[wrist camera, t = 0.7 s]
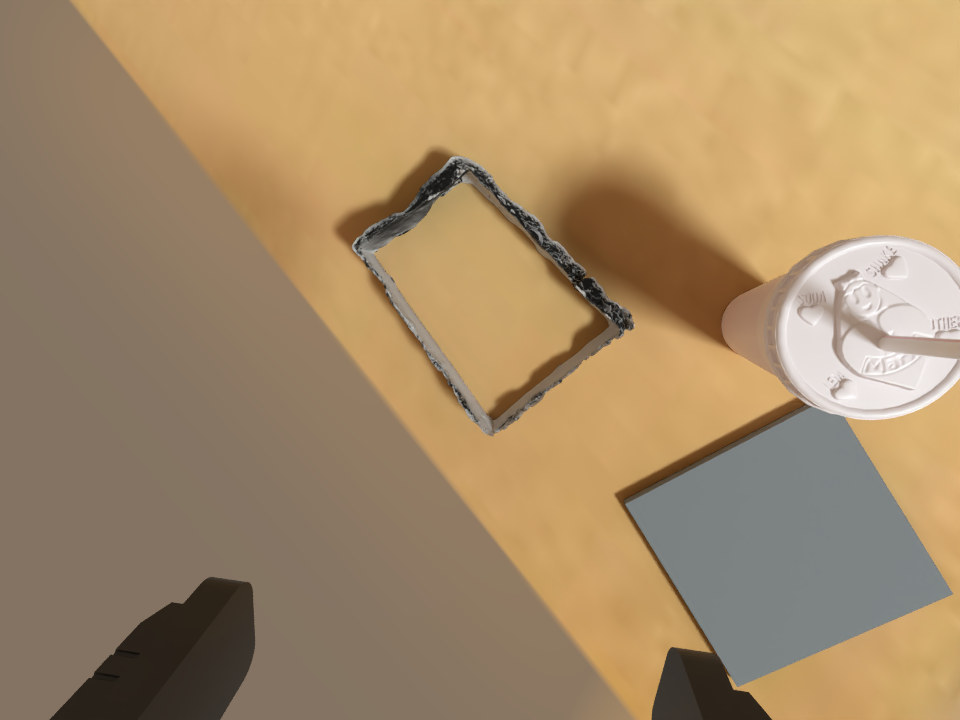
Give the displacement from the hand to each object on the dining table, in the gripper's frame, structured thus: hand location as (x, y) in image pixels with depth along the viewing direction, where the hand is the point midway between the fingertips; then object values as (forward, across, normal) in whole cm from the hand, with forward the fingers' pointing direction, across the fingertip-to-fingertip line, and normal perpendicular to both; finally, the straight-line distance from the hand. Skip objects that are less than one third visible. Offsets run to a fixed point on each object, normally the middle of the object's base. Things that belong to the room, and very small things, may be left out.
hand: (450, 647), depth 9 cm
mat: (+17, -16, +8) cm, 25 cm away
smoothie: (+20, -14, -4) cm, 24 cm away
